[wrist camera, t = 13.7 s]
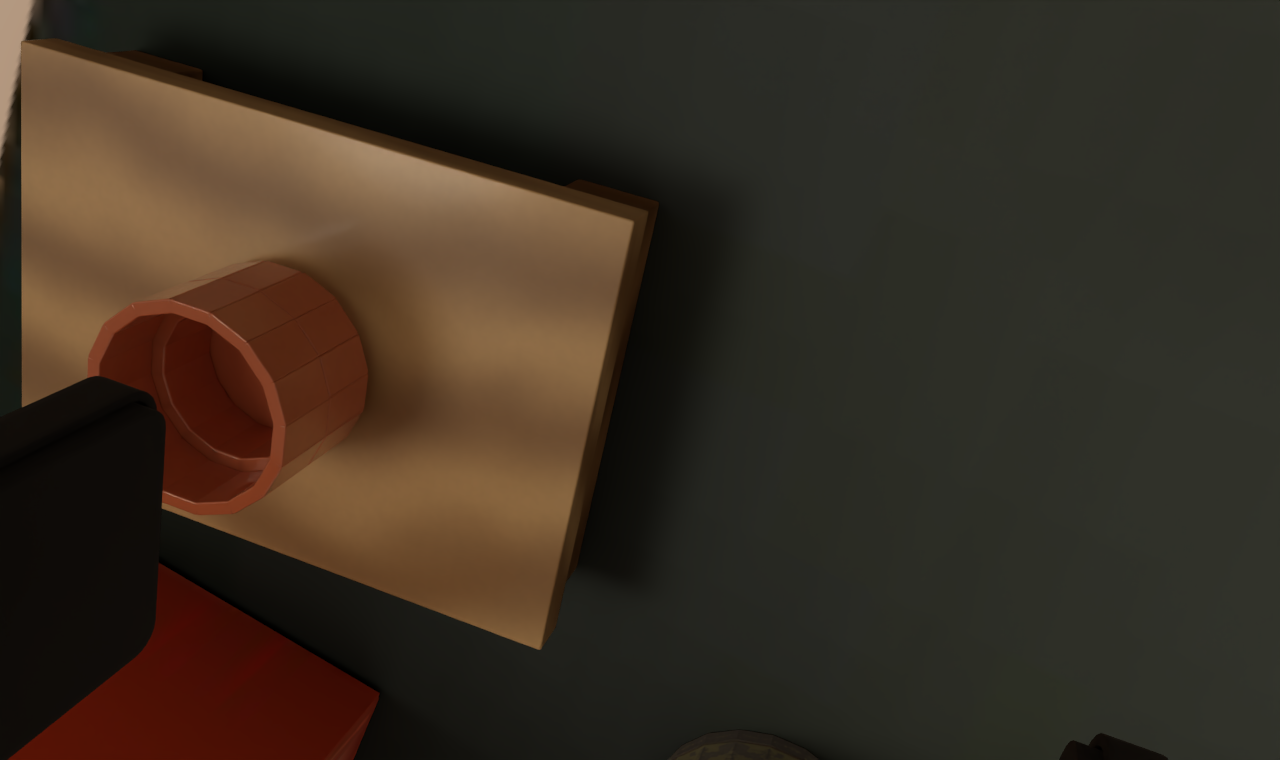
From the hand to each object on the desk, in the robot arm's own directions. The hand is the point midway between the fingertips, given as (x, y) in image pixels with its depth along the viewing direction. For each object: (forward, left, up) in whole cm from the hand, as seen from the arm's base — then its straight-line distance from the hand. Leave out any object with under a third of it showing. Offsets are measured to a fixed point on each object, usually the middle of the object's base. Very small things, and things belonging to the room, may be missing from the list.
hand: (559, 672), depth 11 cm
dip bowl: (+10, -17, -23) cm, 30 cm away
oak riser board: (+10, -17, -28) cm, 34 cm away
